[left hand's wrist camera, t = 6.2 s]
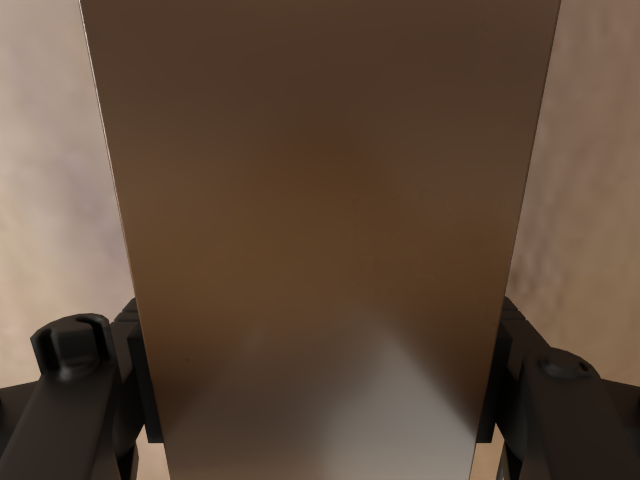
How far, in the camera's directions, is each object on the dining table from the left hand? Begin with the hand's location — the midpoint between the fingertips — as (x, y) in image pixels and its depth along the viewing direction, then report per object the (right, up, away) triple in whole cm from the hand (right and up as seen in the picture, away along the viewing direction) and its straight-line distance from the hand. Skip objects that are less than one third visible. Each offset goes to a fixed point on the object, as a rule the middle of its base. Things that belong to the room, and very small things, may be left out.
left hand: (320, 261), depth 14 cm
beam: (0, +27, -10) cm, 28 cm away
